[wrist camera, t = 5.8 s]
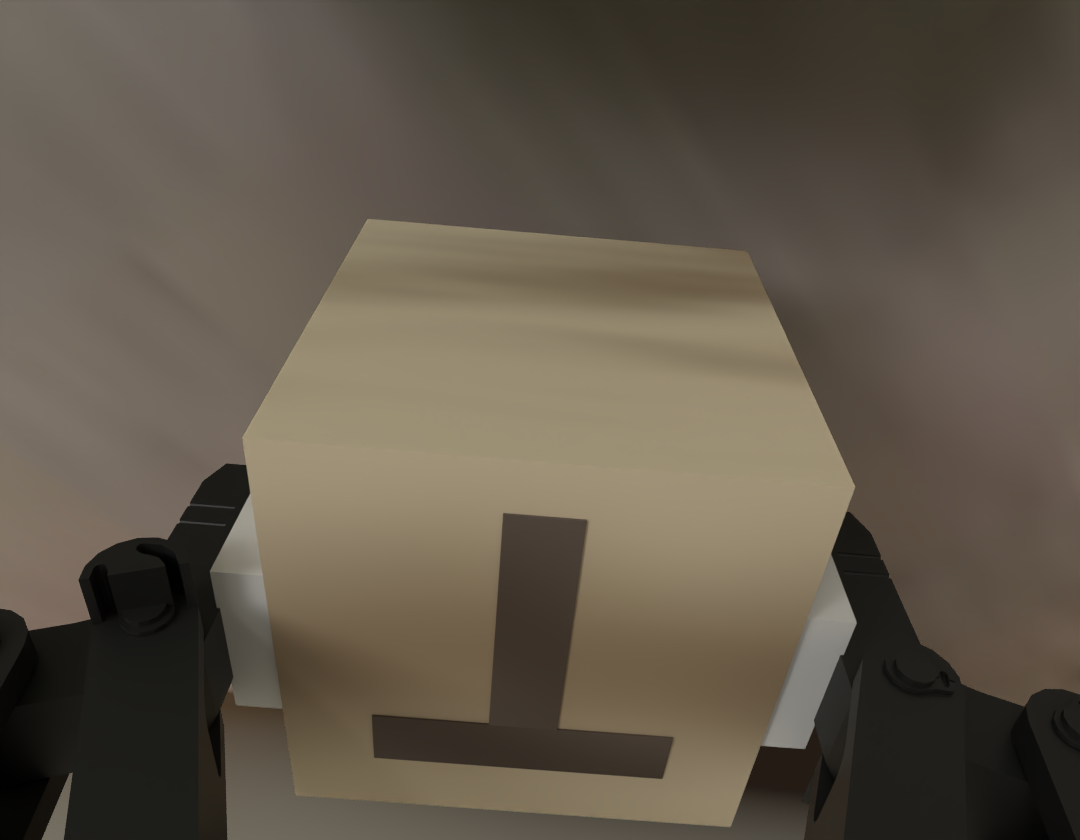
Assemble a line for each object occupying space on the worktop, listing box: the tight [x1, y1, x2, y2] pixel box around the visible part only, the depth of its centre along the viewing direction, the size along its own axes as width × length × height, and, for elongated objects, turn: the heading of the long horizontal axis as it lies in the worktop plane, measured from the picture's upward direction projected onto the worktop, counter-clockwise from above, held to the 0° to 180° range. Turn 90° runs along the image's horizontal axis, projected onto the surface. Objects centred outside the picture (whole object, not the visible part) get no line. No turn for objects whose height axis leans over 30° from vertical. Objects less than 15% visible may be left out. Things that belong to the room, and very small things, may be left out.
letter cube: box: [242, 219, 855, 827], centre depth 14 cm, size 7×7×7 cm
